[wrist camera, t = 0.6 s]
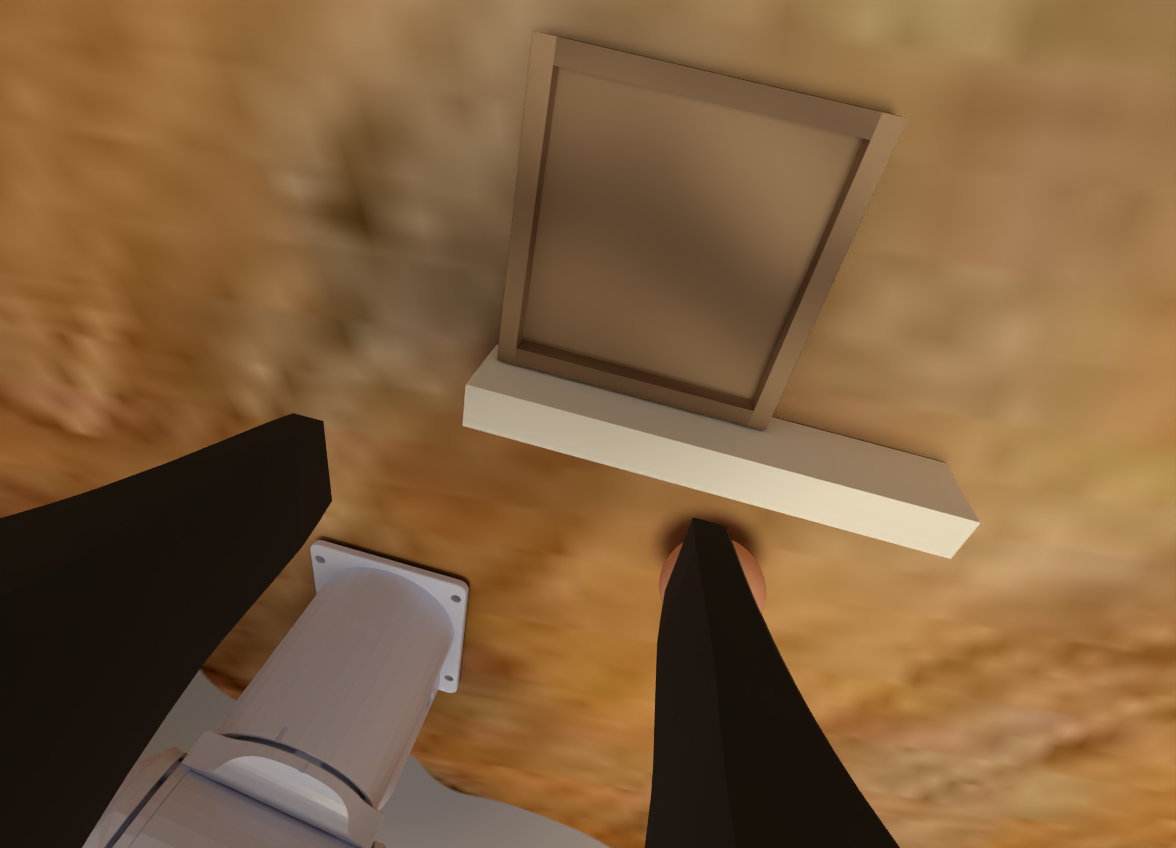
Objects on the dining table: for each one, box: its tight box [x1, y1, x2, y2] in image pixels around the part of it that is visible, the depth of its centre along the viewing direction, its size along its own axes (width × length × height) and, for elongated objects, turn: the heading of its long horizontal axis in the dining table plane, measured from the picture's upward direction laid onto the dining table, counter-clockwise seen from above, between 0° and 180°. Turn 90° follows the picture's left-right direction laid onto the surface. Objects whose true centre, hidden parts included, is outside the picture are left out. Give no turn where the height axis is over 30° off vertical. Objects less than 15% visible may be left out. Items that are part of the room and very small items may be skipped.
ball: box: [659, 540, 766, 614], centre depth 22 cm, size 4×4×4 cm
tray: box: [497, 31, 908, 431], centre depth 16 cm, size 9×9×1 cm
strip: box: [463, 345, 980, 559], centre depth 19 cm, size 2×16×3 cm, turn 79°
